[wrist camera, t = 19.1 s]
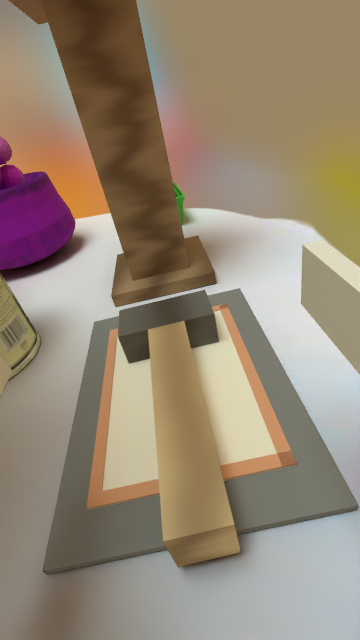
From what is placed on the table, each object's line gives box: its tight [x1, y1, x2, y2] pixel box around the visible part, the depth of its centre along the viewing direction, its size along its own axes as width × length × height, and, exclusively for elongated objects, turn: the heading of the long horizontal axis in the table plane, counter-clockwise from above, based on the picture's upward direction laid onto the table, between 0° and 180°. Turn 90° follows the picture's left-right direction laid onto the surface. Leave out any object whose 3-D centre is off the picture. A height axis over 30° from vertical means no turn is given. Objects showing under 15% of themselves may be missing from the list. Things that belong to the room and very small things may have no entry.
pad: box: [43, 288, 358, 575], centre depth 25 cm, size 16×22×1 cm
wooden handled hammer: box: [118, 290, 241, 567], centre depth 21 cm, size 8×19×3 cm, turn 7°
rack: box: [9, 0, 216, 307], centre depth 33 cm, size 12×12×28 cm
